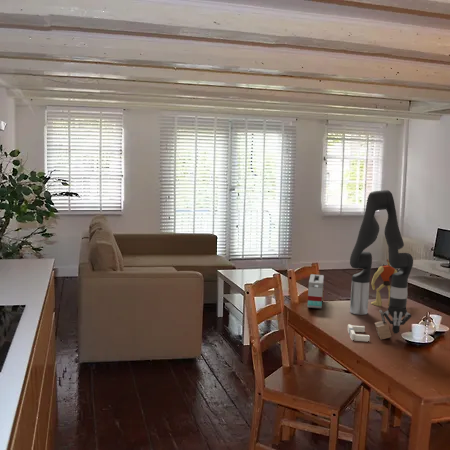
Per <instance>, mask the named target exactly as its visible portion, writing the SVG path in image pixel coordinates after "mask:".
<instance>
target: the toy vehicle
mask: <svg viewBox="0 0 450 450" xmlns="http://www.w3.org/2000/svg"><path fill="white" fill-rule="evenodd" d="M324 279H325V276H324V274H313V273H311V274H310V276H309V280H308V291H307V292H308V293H307V306H306V307H307V308H310V309H311V308H312V309H323V305H322V304H323V299H324V296H323V295H324V287H325V285H324Z"/></svg>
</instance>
